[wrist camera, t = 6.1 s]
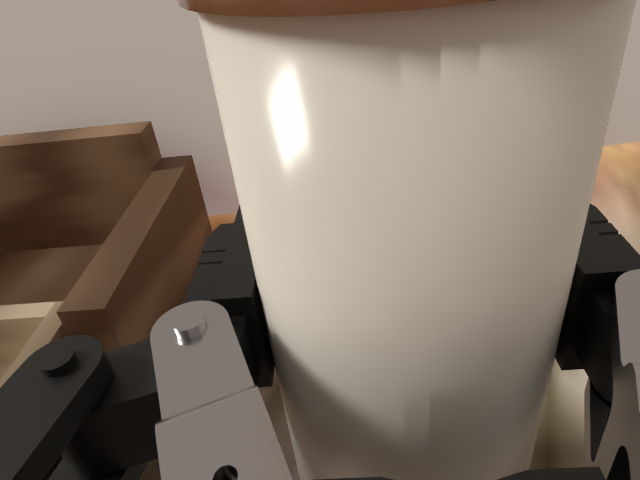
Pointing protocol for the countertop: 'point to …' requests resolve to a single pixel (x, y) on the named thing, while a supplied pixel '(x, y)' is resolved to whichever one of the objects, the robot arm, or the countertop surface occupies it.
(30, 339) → the wooden drawer
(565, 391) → the countertop surface
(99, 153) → the box
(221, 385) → the robot arm
